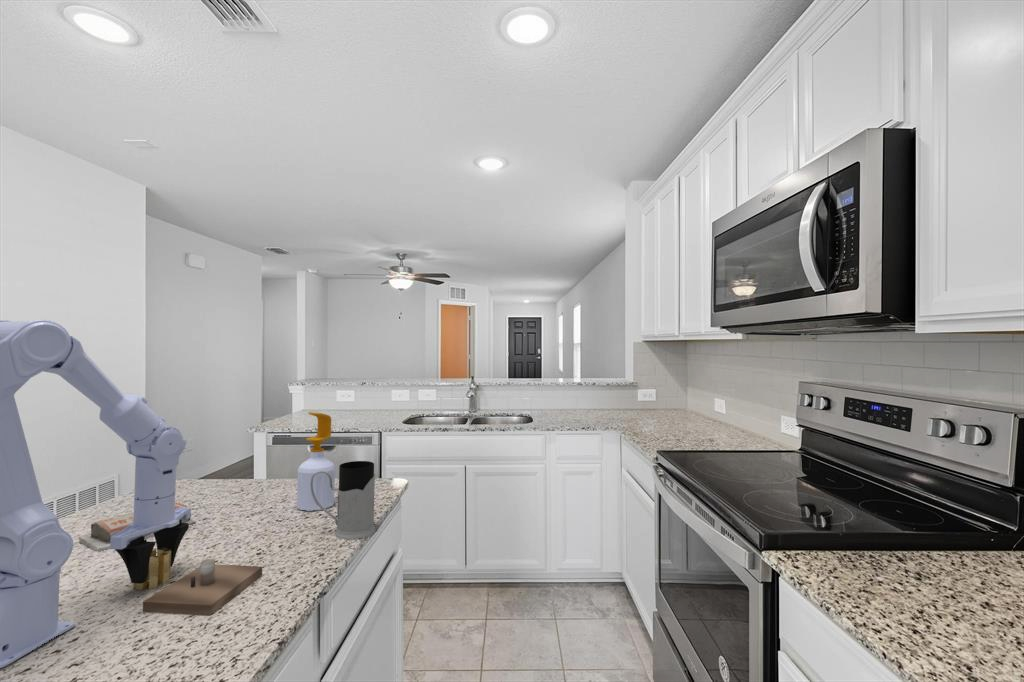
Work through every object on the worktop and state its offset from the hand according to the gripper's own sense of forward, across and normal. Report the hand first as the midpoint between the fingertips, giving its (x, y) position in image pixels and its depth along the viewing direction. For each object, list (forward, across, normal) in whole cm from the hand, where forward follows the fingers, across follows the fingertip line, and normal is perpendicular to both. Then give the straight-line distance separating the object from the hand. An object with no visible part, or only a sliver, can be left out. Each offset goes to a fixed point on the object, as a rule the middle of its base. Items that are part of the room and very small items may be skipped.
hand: (152, 574), depth 81 cm
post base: (+1, -2, -12) cm, 12 cm away
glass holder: (+2, +26, -23) cm, 34 cm away
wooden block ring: (+1, 0, 0) cm, 1 cm away
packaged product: (+2, +21, +21) cm, 30 cm away
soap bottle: (+2, +42, -8) cm, 43 cm away
